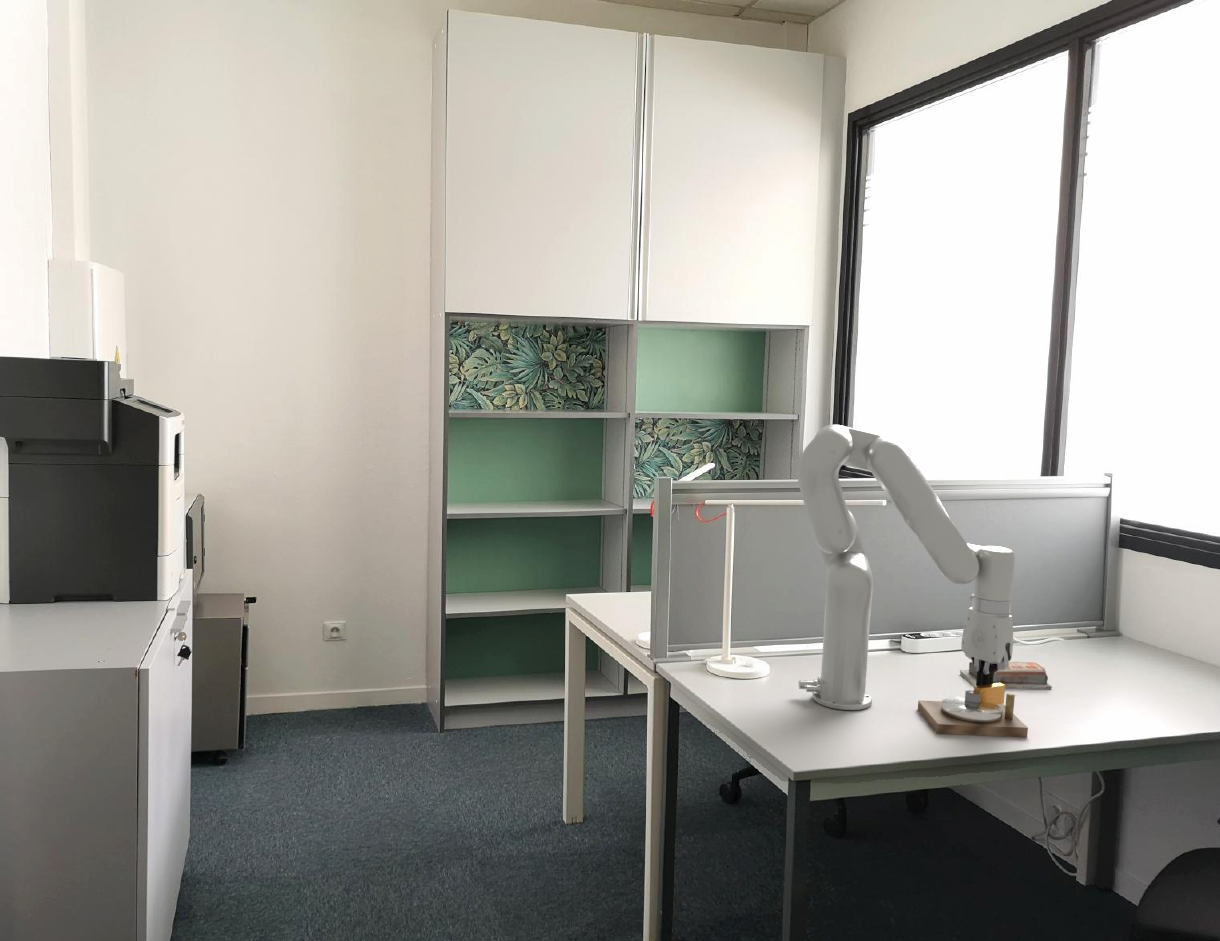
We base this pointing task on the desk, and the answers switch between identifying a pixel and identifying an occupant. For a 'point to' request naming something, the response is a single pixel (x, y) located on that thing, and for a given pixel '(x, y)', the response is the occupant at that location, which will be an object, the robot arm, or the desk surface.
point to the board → (961, 727)
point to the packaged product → (1014, 676)
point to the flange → (977, 704)
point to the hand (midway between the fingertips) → (983, 689)
